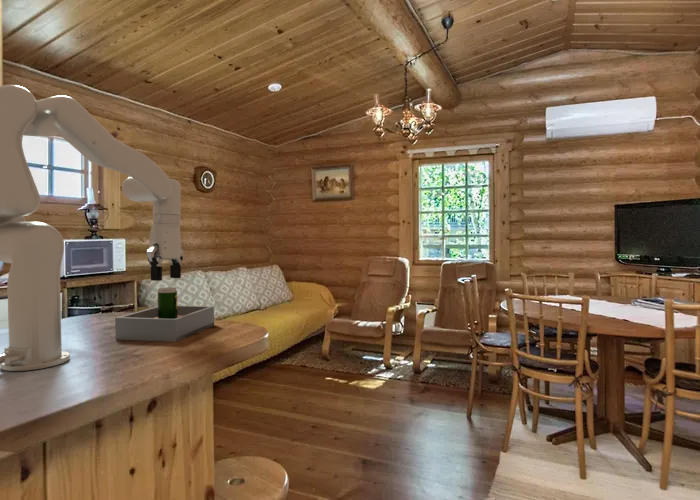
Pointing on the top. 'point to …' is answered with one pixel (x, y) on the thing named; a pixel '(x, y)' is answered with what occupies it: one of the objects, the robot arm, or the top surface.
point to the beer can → (167, 303)
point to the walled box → (164, 324)
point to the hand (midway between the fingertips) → (166, 279)
